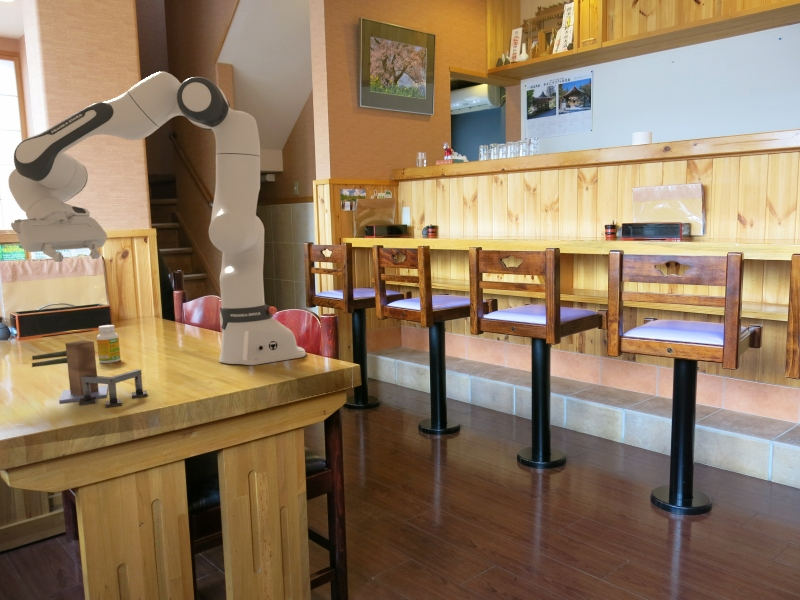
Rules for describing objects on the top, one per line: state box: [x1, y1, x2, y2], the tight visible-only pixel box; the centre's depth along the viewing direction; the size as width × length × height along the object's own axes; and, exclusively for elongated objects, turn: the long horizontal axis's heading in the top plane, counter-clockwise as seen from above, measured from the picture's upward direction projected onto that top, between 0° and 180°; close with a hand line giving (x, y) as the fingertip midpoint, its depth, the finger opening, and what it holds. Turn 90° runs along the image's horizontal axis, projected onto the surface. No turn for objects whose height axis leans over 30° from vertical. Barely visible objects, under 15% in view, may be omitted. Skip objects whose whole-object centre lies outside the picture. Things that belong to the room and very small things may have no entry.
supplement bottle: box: [96, 324, 121, 364], centre depth 178 cm, size 5×5×10 cm
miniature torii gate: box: [31, 350, 67, 368], centre depth 185 cm, size 22×2×15 cm
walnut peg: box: [65, 339, 99, 396], centre depth 142 cm, size 4×4×11 cm
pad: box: [58, 384, 109, 404], centre depth 143 cm, size 9×9×1 cm
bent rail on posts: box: [78, 369, 148, 408], centre depth 136 cm, size 13×8×6 cm, turn 112°
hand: (78, 258), depth 158 cm, fingers open, 8 cm apart
